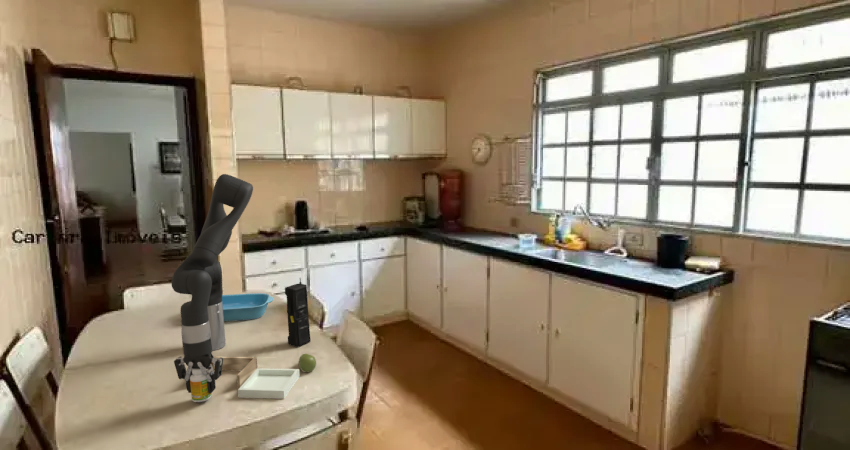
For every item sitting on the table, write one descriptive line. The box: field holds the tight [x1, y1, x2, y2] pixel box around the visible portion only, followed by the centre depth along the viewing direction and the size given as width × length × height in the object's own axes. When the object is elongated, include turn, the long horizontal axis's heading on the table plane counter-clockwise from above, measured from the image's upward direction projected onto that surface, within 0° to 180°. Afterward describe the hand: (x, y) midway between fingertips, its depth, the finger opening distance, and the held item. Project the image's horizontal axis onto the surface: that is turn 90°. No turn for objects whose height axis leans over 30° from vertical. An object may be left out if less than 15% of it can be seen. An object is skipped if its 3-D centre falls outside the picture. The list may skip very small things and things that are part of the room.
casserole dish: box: [222, 292, 274, 323], centre depth 211 cm, size 37×22×7 cm, turn 102°
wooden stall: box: [207, 356, 258, 390], centre depth 152 cm, size 17×13×4 cm
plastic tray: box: [237, 367, 301, 400], centre depth 146 cm, size 14×14×2 cm
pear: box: [298, 353, 317, 373], centre depth 159 cm, size 6×5×10 cm
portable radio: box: [284, 278, 312, 348], centre depth 177 cm, size 8×6×25 cm
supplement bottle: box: [190, 369, 213, 403], centre depth 137 cm, size 5×5×10 cm
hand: (201, 391), depth 138 cm, fingers closed on supplement bottle, 5 cm apart
